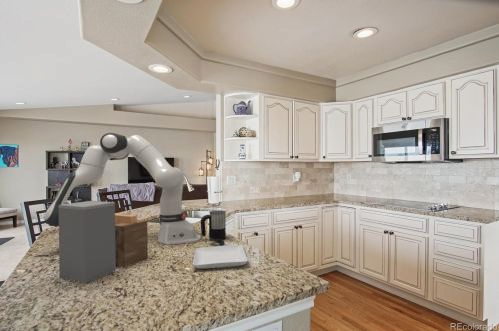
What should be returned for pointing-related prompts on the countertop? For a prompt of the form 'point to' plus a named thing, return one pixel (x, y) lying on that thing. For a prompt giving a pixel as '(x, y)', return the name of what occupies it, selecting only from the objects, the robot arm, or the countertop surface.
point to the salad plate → (219, 257)
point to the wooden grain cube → (131, 242)
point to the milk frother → (215, 226)
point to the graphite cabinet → (86, 240)
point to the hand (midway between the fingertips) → (103, 213)
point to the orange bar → (125, 218)
